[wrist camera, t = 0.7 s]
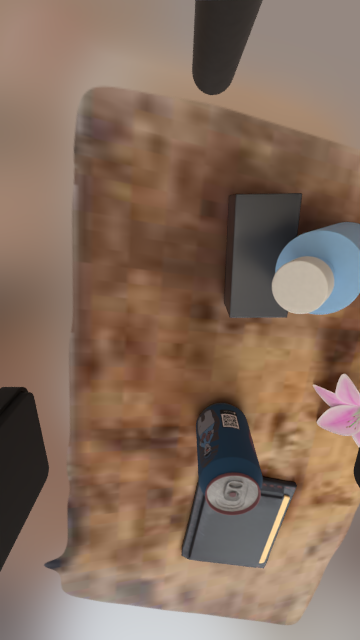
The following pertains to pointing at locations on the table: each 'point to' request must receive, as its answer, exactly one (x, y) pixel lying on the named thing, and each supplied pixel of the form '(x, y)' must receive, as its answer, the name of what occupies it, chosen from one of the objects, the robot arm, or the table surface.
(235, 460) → the soda can
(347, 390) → the lily
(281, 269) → the bottle
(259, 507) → the wallet
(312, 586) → the table surface
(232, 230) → the block
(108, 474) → the table surface
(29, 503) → the robot arm
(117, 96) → the table surface
